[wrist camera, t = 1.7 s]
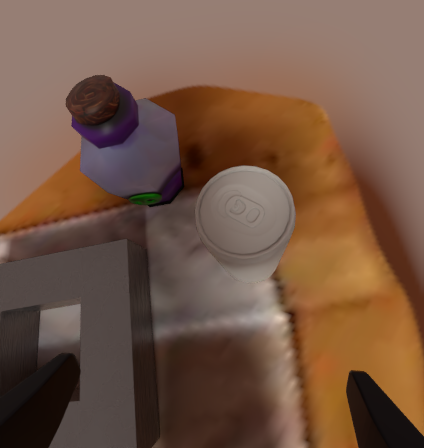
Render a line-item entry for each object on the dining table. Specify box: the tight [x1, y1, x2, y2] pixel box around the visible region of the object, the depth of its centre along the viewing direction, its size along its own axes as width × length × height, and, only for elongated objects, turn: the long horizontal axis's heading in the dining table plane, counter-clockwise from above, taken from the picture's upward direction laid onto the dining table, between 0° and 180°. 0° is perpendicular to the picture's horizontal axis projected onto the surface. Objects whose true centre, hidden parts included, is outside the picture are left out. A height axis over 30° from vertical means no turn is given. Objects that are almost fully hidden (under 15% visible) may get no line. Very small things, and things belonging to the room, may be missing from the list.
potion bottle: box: [66, 75, 184, 207], centre depth 21 cm, size 9×9×12 cm
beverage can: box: [195, 165, 296, 283], centre depth 18 cm, size 5×5×12 cm
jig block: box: [0, 239, 160, 448], centre depth 22 cm, size 15×15×4 cm
